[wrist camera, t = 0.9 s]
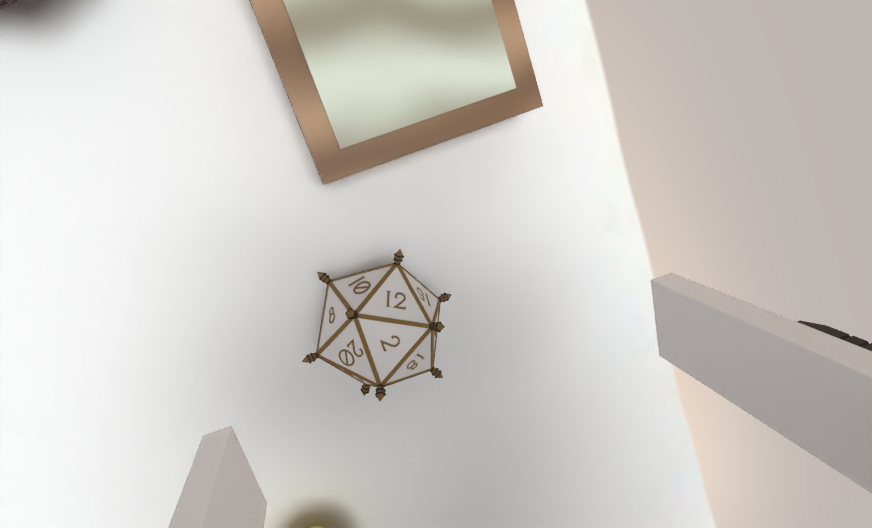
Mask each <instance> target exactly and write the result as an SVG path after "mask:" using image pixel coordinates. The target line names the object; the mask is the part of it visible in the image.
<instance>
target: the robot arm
mask: <svg viewBox="0 0 872 528" xmlns="http://www.w3.org/2000/svg"><path fill="white" fill-rule="evenodd" d="M651 286H652V295H653V304H654V312H655V321H656V330H657V339H658V348H659V355H660V356H661V357H663V358H664V359H666V360H667V361H669V362H670V363H672V364H673V365H675V366H676V367H678V368H680V369H681V370H683V371H684V372H686V373H687V374H689V375H690V376H692V377H693V378H695V379H696V380H698V381H700V382H701V383H703V384H704V385H706V386H707V387H709V388H710V389H712V390H713V391H715V392H717V393H718V394H720V395H721V396H723V397H724V398H726V399H727V400H729V401H730V402H732V403H733V404H735V405H737V406H738V407H740V408H741V409H743V410H744V411H746V412H748V413H749V414H750V415H752V416H753V417H755V418H757V419H758V420H760V421H761V422H763V423H764V424H766V425H768V426H769V427H770V428H772V429H774V430H775V431H777V432H778V433H780V434H781V435H783V436H784V437H786V438H787V439H789V440H790V441H792V442H794V443H795V444H797V445H798V446H800V447H801V448H803V449H804V450H806V451H807V452H809V453H810V454H812V455H814V456H815V457H817V458H819V459H820V460H821V461H823V462H825V463H826V464H827V465H829V466H830V467H832V468H834V469H835V470H837V471H838V472H840V473H841V474H843V475H845V476H846V477H848V478H849V479H851V480H852V481H854V482H855V483H857V484H858V485H860V486H861V487H863V488H864V489H866V490H867V491H869V492H871V493H872V343H871V344H869V343H868V341H865V340H863V339H860V338H858V337H855V336H852V337H850V336H849V334H847V333H844V332H842V331H839V330H836V329H834V328H831V327H829V326H825V325H820V324H815V323H809V322H804V321H798V322H796V321H793V320H791V319H788V318H785V317H783V316H781V315H778V314H775V313H773V312H770V311H768V310H765V309H763V308H760V307H757V306H755V305H752V304H750V303H747V302H745V301H742V300H740V299H737V298H735V297H732V296H730V295H727V294H725V293H722V292H720V291H717V290H714V289H711V288H709V287H707V286H704V285H702V284H699V283H697V282H694V281H691V280H689V279H686V278H684V277H681V276H679V275H676V274H674V273H670V274H667V275H664V276H661V277H658V278H655V279H653V280H651ZM266 506H267V502H266V500H265V498H264V496H263V494H262V492H261V489H260V487H259V485H258V483H257V481H256V478H255V476H254V474H253V472H252V470H251V468H250V465H249V463H248V461H247V459H246V457H245V454H244V452H243V450H242V448H241V446H240V444H239V441H238V439H237V437H236V435H235V433H234V431H233V428H232V426H230V427H227V428H224V429H222V430H219V431H216V432H213V433H210V434H207V435H204V436H203V437H202V440H201V443H200V445H199V448H198V451H197V453H196V456H195V459H194V461H193V464H192V467H191V469H190V472H189V474H188V477H187V480H186V482H185V485H184V488H183V490H182V493H181V496H180V498H179V501H178V504H177V506H176V509H175V512H174V514H173V517H172V520H171V522H170V525H169V528H264V520H265V513H266Z"/></svg>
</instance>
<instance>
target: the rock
mask: <svg viewBox="0 0 872 528" xmlns="http://www.w3.org/2000/svg"><path fill="white" fill-rule="evenodd" d="M16 1H17V0H0V9H1V8H4V7H7V6H9V5H11V4H13V3H15V2H16Z"/></svg>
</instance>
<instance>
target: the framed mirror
mask: <svg viewBox="0 0 872 528" xmlns="http://www.w3.org/2000/svg"><path fill="white" fill-rule="evenodd" d="M250 3H251V5H252V8H253V10H254V13H255V15H256V18H257V20H258V23H259V25H260V28H261V30H262V33H263V35H264V38H265V40H266V43H267V45H268V48H269V50H270V53H271V55H272V58H273V60H274V63H275V65H276V68H277V70H278V73H279V75H280V78H281V80H282V83H283V85H284V88H285V90H286V93H287V95H288V98H289V100H290V103H291V105H292V108H293V110H294V113H295V115H296V118H297V120H298V123H299V125H300V128H301V130H302V133H303V135H304V138H305V140H306V143H307V145H308V148H309V150H310V153H311V155H312V158H313V160H314V163H315V165H316V168H317V170H318V173H319V175H320V178H321V180H322V183H323V184H327V183H330V182H333V181H336V180H338V179H341V178H344V177H347V176H350V175H352V174H355V173H358V172H361V171H363V170H366V169H369V168H372V167H375V166H377V165H380V164H383V163H386V162H389V161H391V160H394V159H397V158H400V157H402V156H405V155H408V154H411V153H414V152H416V151H419V150H422V149H425V148H428V147H430V146H433V145H436V144H439V143H441V142H444V141H447V140H450V139H453V138H455V137H458V136H461V135H464V134H466V133H469V132H472V131H475V130H478V129H480V128H483V127H486V126H489V125H492V124H494V123H497V122H500V121H503V120H505V119H508V118H511V117H514V116H517V115H519V114H522V113H525V112H528V111H531V110H533V109H536V108H539V107H542V106H543V104H542V100H541V96H540V93H539V89H538V85H537V82H536V78H535V74H534V71H533V67H532V64H531V60H530V56H529V53H528V49H527V45H526V42H525V38H524V34H523V31H522V27H521V24H520V20H519V16H518V13H517V9H516V5H515V2H514V0H250Z"/></svg>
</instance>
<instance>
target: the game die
mask: <svg viewBox="0 0 872 528" xmlns="http://www.w3.org/2000/svg"><path fill="white" fill-rule="evenodd" d="M394 256H395V257H394V263H392V264H388V265H384V266H381V267H377V268H373V269H370V270H366V271H362V272H359V273H355V274H351V275H348V276H344V277H340V278H337V279H333V280H331V279H330V278H329V275H327V274H326V273H321V272H317V273H318V275H319V278H320V279H319V280H322V281H323V282H325V283H327V290H326V296H325V303H324V309H323V315H322V321H321V327H320V333H319V339H318V345H317V351H316V353H310V354H309V355H308V354H307V356H306V357H305V358H304V360H303V361H302V362H307V363H310V364H311V362H313V361H315V360H316V359H317V358H320V359H322V360H324V361H325V362H327V363H329V364H330V365H332V366H334V367H336V368H337V369H339V370H341V371H343V372H344V373H346V374H348V375H350V376H351V377H353V378H355V379H357V380H358V381H360V382H362V383H364V385H362V389H361V391H362V393H363V395H366V394H367V393H369V389H370V386H374V387H377V389H376V397H377V398H378V399H379V401H381V400H382V398H383V397H384V396H385V395H386V394H385V391H386V390H385V389H384V387H385V386H388V385H391V384H394V383H397V382H400V381H402V380H405V379H408V378H411V377H414V376H417V375H420V374H423V373H425V372H428V371H430V372H431V373H432V375H434V376H435V378H443V377H442V374H441V371H439V370H438V368H434V358H435V349H436V339H437V331H438V332H440V331H441V330H442V329H443V328H444V327H445V326H444V325H443V324H442V323H441V322H438V321H439V312H440V303H441V302H445V301H447V300H449V298H450V296H451V294H446V293H445V292H444V294H441V296H440V297H437V296H436V295H435V294H433V293H432V292H431V291H430V290H429V289H428V288H426V287H425V286H424V285H423V284H422V283H421V282H419V281H418V280H417V279H416V278H415V277H414V276H412V275H411V274H410V273H409V272H408V271H407V270H405V269H404V268H403V267H402V266H401V265H400V262H401V261H403V260H402V258H403V257H404V256H403V255H402V252H401V249H400V250H399V251H398V252H397V253H395V254H394ZM369 385H370V386H369Z"/></svg>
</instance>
